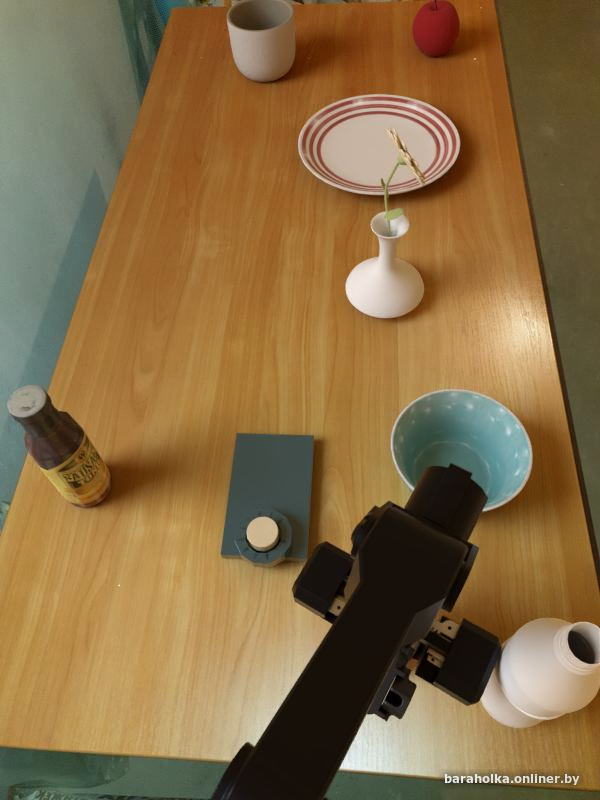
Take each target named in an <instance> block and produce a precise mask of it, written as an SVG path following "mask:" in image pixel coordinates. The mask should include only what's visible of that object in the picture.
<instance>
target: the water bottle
mask: <svg viewBox="0 0 600 800" xmlns="http://www.w3.org/2000/svg"><path fill="white" fill-rule="evenodd" d="M501 646H502V649H501V653H500V655H499V657H498V660H497V662H496V664H495V667H494V669H493V672H492V674H491V676H490V679H489V681H488V684H487V686H486V688H485V691H484V693H483V695H482V697H481V699H480V703H481V705H482V707H483V708H484V710H485V711H486V713H488V715H489V716H490V717H491V718H493V719H494V720H495V721H496V722H497V723H499V724H501V725H503V726H506V727H510V728H515V729H527V728H531V727H534V726H536V725H539V724H540V723H542V722H543V721H551V720H554V719H557V718H561V717H562V716H564V715H565V714H570V713H571V714H572V713H574V712H577V711H579V710H582V709H583V708H584V707H586V706H588V705H589V704H590V703H591V702H592V701H593V700H594V698H595V697H596V696H597V695H598V692H599V690H600V627H599V626H597V625H596V624H594V623H592V622H589V621H578V622H574V623H571V622H569V621H568V620H564V619H562V618H557V617H540V618H536V619H533V620H530V621H528V622H526V623H524V624H523V625H522V626H521V627H519V628H518V629H517V630H516V631H515V633H514V634H513V635H511V636H510V637H508V638H506V640H505V641H504V642H503V643H501Z"/></svg>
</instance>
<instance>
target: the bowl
mask: <svg viewBox="0 0 600 800" xmlns="http://www.w3.org/2000/svg"><path fill="white" fill-rule="evenodd" d="M389 441H390V443H389V444H390V456H391V459H392V463H393V465H394V467H395V469H396V471H397V474H398V475H399V477H400V478H401V480H402V481H403V483H404V485H405V487H406V488H407V489H408V490H409V492H410V493H411V494H412V493H413V491H414V489H415V487H416V485H417V483H418V481H419V480H420V478H421V476H422V474H423V472H424V470H425V469H426V467H430V466H443V467H449V465H450V463H453V464H455V465H457V466H459V467H461V468H463V469H465V470H467V471H470V472H472V473H473V474H472V476H471V479H472V480H474V481H475V482H476V483H477V484H478V485H479V486H480V487H481V488H482V489H483V490H484V492H485V493H486V496H487V497H488V500H487V502H486V505H485V507H484V509H483V511H482V513H481V514H484V513H487V512H490V511H493V510H496V509H498V508H500V507H503V506H505V505H506V504H508V503H510V502H511V501H512V500H514V498H516V497H517V496H518V495H519V494H520V492H522V490H523V489H524V488H525V486H526V485H527V483H528V482H529V481H528V480H529V479H530V476H531V473H532V468H533V464H534V463H533V462H534V461H533V460H534V453H533V446H532V442H531V439H530V436H529V434H528V431H527V430H526V427H525V426H524V424H523V423H522V421H521V420H520V419H519V418H518V417H517V415H516V414H515V413H514V412H512V410H510V408H508V407H507V406H505V405H504V404H503V403H501V402H500V401H499V400H496V398H493V397H490V396H488V395H486V394H484V393H480V392H478V391H474V390H469V389H462V388H445V389H439V390H434V391H431V392H428V393H426V394H425V393H424V394H423V395H421V396H419V397H417V398H416V399H414V400H412V401H411V402H410V403H408V404H407V405H406V406H405V407H404V408H403V409H402V411H401V412H400V413H399V414H398V416H397V417H396V420H395V421H394V423H393V426H392V428H391V433H390V440H389Z"/></svg>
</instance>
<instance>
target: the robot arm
mask: <svg viewBox="0 0 600 800" xmlns="http://www.w3.org/2000/svg"><path fill="white" fill-rule="evenodd" d="M472 474H473V473H472V472H470V471H467V470H465V469H463V468H461V467H459V466H457V465H455V464H453V463H450V465H449V467H443V466H430V467H426V469H425V470H424V472H423V474H422V476H421V478H420V480H419V481H418V483H417V485H416V487H415V489H414V491H413V493H411V494H410V496H409V498H408V500H407V502H406V503H405V505H404V507H402V506H400V505H399V504H396V503H395V502H393V501H391V500H387V501H386V502H385V503H383V504H382V505H381V506H377V505H376V504H375V505H374V506H373V507H372V508H371V509H370V510H369V511H368V512H367V513H366V515H365V516H363V518H361V520H359V522H358V523H357V524H356V526H355V527H354V528H353V531H352V533H351V536H350V541H351V545H352V547H351V549H350V552H347V551H345V550H344V549H342V548H340V547H338V546H336V545H335V544H333V543H332V542H329V541H323V542H320V543H318V544H317V545H316V546H315V547H314V549H313V551H312V552H311V554H310V556H309V557H308V558H307V562H305V564H304V566H303V567H302V569H301V571H300V572H299V574H298V576H297V577H296V579H295V580H294V583H293V585H292V588H291V593H292V596H293V600H294V603H296V604H297V605H299V606H301V607H303V608H304V609H306V610H308V611H309V612H311V613H313V614H314V615H316V616H318V617H319V618H321V619H322V620H324V621H326V622H328V623H329V624H331V627H330V628H329V629H328V631H327V632H326V634H325V635H324V637H323V638H322V640H321V641H320V644H319V645H318V647H317V648H316V650H315V651H314V652H313V655H312V656H311V657H310V659H309V660H308V663H306V665H305V667H304V668H303V670H302V671H301V673H300V674H299V676H298V678H297V679H296V681H295V682H294V684H293V686H292V687H291V689H290V690H289V692H288V693H287V694H286V696H285V698H284V700H283V702H282V703H281V704H280V706H279V708H278V709H277V710H276V712H275V713H274V715H273V716H272V718H271V720H270V721H269V723H268V724H267V726H266V728H265V729H264V731H263V733H262V734H261V736H260V737H259V739H258V740H257V742H256V743H255V744H252V743H251V742H250V741H246V742H245V743H244V744H243V745H242V746H241V747H240V748H239V750H238V751H237V753H236V754H235V755H234V757H233V758H232V760H231V761H230V763H229V764H228V765H227V768H226V769H225V771H224V773H223V774H222V776H221V778H220V780H219V782H218V783H217V785H216V786H215V788H214V791H213V792H212V795H211V797H210V798H209V800H331V799H330V798H329V797H327V794H328V792H329V790H330V788H331V786H332V784H333V782H334V780H335V779H336V776H337V774H338V772H339V770H340V768H341V766H342V764H343V762H344V760H345V758H346V756H347V754H348V753H349V750H350V748H351V747H352V744H353V743H354V741H355V738H356V736H357V734H358V733H359V730H360V728H361V726H362V724H363V723H364V722H365V721H364V720H365V719H366V717H367V715H368V716H369V715H375V716H377V717H379V718H380V719H381V720H383V721H385V722H388V721H389V719H390V717H391V716H393V717H395V718H397V719H398V720H402V719H403V717H404V716H405V714H406V712H407V710H408V708H409V705H410V703H411V701H412V699H413V697H414V694H415V693H416V690H417V684H416V683H415V682H414V681H412V680H411V679H410V675H411V673H412V669H410V668H409V667H408V666H409V665H410V663H411V661H412V660H413V661H415V662H417V663H416V667H415V672H414V675H415V676H417V677H418V678H420V679H421V680H423V681H425V682H426V683H428V684H430V685H431V686H433V687H435V688H436V689H438V690H439V691H441V692H443V693H445V694H446V695H448V696H450V697H451V698H453V699H455V700H456V701H458V702H460V703H461V704H463V705H465V706H466V707H469V706H472V705H476V704H477V703H479V702H481V697H482V695H483V693H484V691H485V688H486V686H487V684H488V681H489V679H490V676H491V674H492V672H493V669H494V667H495V664H496V662H497V660H498V657H499V655H500V653H501V649H502V646H501V645H502V643H501V640H500V637H498V636H497V635H495V634H493V633H491V632H490V631H488V630H486V629H484V628H482V627H480V626H479V625H478V624H475V623H474V622H473V621H470V620H468V619H466V617H465V618H464V617H463V618H462V620H461V621H460V623H458V622H456V621H455V620H452V618H451V619H450V617H447V616H446V615H442V616H440V617H439V619H438V620H436V619H437V616H438V614H439V613H440V611H441V610H443V611H445V612H447V613H448V614H450V613H451V612H452V611H453V609H454V607H455V605H456V603H457V601H458V599H459V597H460V595H461V593H462V591H463V589H464V587H465V584H466V583H467V580H468V579H469V576H470V574H471V572H472V569H473V566H474V564H475V561H476V559H477V556H478V554H479V550H480V547H479V546H478V545H475V544H473V543H472V542H470V541H469V539H470V538H471V536H472V534H473V531H474V530H475V527H476V525H477V523H478V521H479V519H480V517H481V515H482V514H483V513H482V511H483V509H484V507H485V505H486V502H487V500H488V497H487V496H486V493H485V492H484V490H483V489H482V488H481V487H480V486H479V485H478V484H477V483H476V482H475V481H474V480H472V479H471V476H472ZM416 641H419V642H420V645H419V647H418V649H417V651H416V652H415V654H414V651H415V649H414V648H412V647H411V645H413V644H414V643H415V642H416ZM413 654H414V656H413ZM412 656H413V657H412ZM411 658H412V659H411ZM410 660H411V661H410ZM409 662H410V663H409ZM406 665H408V666H407V667H406Z"/></svg>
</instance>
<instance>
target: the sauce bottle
mask: <svg viewBox="0 0 600 800" xmlns="http://www.w3.org/2000/svg"><path fill="white" fill-rule="evenodd" d="M6 406H7V410H8V412H9V414H10V416H11V418H12V419H13V420H14V421H15V422H16V423H19V424H20V426H21V427H22V429H23V430H24V436H23V439H24V446H25V449H26V451H27V452H28V453H29V455H30V456H31V457H32V459H33V462H34V463H35V464H36V465H37V466H38V468H39V469H40V470H41V471H42V473H43V474H44V475H45V476H46V477H47V479H48V480H49V482H51V484H52V485H53V486H54V488H55V489H56V491H58V493H59V494H60V495H61V496H62V498H64V499H65V500H66V501H68V502H69V503H70V504H71V505H72V506H73V507H77V508H80V509H81V508H83V509H86V508H91V507H94V506H95V505H98V504H100V503H101V502H102V501H103V500H105V498H106V497H107V496H108V495H109V492H110V490H111V487H112V476H111V473H110V470H109V468H108V466H107V465H106V462H104V460H103V458H102V457H101V455H100V453H99V452H98V450H97V449H96V447H95V446H94V444H93V442H92V441H91V440H90V437H89V436H88V434H87V433H86V432H85V429H84V428H83V427H82V425H80V424H79V423H78V422H77V420H75V419H74V417H73V416H72V415H71V414H70V413H68V412H67V411H65V410H64V411H63V410H58V409H57V407H55V405H54V404H53V402H52V398H51V396H50V395H49V393H48V392H47V391H46V390H45V389H44V388H43V387H42V386H40V385H37V384H27V385H23V386H22V387H19V388H17V389H16V390H14V392H13V393H12V394H11V395H10V397H9V398H8V399H7V404H6Z"/></svg>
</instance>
